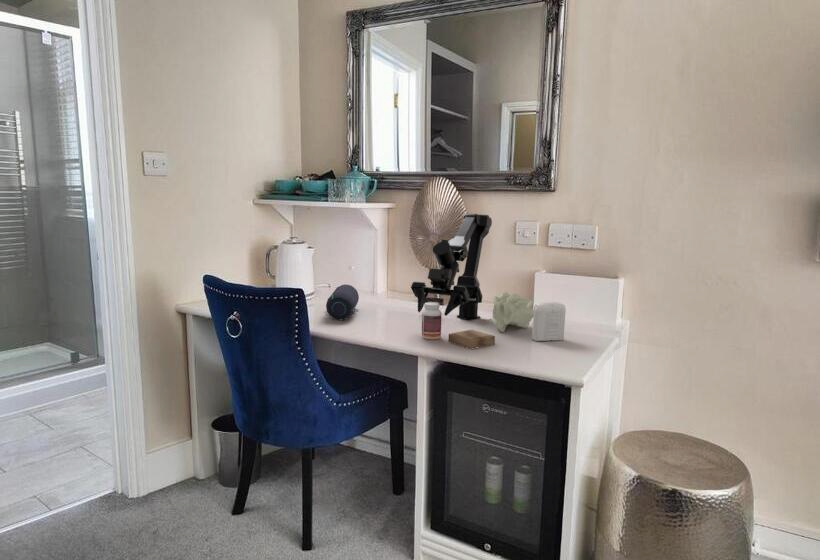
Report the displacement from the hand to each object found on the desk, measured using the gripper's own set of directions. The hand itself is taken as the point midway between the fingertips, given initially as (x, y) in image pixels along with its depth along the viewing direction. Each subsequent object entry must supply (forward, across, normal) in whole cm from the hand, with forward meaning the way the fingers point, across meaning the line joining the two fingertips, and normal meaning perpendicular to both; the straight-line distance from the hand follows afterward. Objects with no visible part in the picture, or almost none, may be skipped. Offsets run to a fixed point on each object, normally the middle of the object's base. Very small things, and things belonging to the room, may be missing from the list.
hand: (431, 313), depth 177 cm
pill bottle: (+6, 0, +6) cm, 8 cm away
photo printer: (-6, +33, +17) cm, 38 cm away
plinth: (+5, +13, +6) cm, 16 cm away
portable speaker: (-4, -42, +16) cm, 45 cm away
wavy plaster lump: (-13, +18, +24) cm, 32 cm away
